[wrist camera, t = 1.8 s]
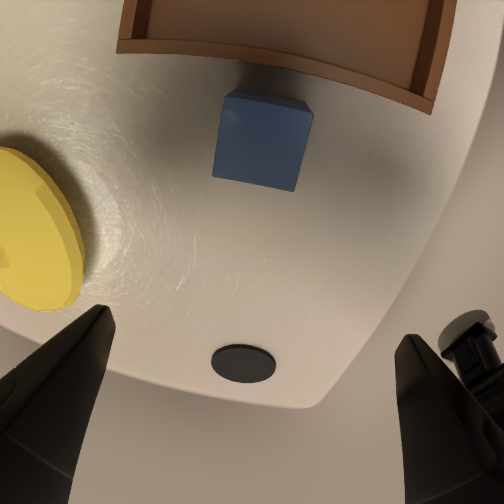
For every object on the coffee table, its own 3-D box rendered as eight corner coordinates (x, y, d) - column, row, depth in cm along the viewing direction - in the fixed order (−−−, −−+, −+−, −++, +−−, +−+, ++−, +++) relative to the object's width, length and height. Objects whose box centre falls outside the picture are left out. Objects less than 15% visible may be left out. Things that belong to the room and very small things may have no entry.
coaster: (287, 358, 28) (288, 361, 28) (256, 385, 32) (256, 388, 32) (227, 336, 27) (227, 339, 27) (202, 367, 31) (202, 370, 30)
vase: (-2, 270, 26) (-35, 312, 20) (-34, 136, 17) (-87, 168, 11) (110, 305, 26) (80, 365, 21) (93, 136, 17) (25, 177, 11)
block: (290, 165, 18) (294, 192, 15) (224, 153, 18) (211, 176, 14) (306, 102, 16) (314, 113, 12) (235, 88, 15) (224, 95, 12)
